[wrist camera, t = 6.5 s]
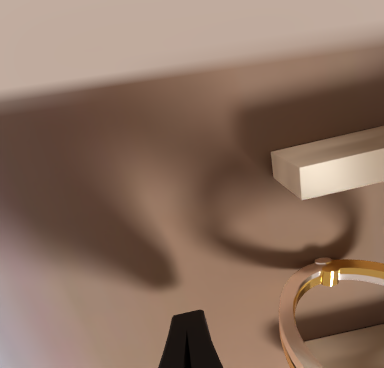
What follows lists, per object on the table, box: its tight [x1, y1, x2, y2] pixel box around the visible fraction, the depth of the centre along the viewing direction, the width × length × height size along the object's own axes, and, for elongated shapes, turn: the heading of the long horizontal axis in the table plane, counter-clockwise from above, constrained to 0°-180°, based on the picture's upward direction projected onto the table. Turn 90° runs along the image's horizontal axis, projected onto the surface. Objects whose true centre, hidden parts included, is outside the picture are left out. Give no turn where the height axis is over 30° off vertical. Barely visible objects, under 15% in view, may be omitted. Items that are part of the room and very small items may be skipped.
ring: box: [279, 257, 384, 368], centre depth 9 cm, size 7×3×8 cm, turn 98°
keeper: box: [271, 126, 384, 368], centre depth 11 cm, size 8×13×2 cm, turn 12°
